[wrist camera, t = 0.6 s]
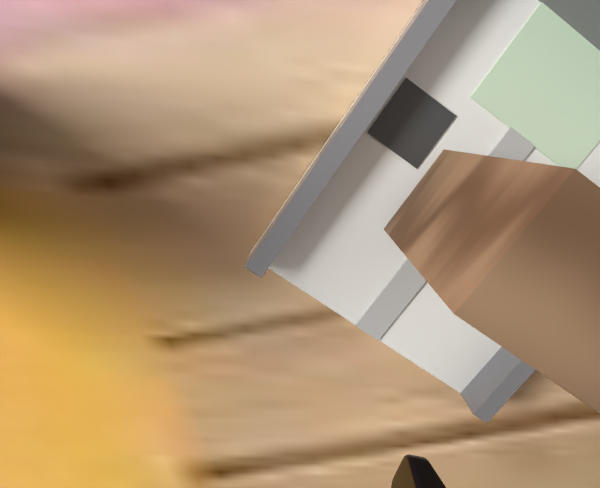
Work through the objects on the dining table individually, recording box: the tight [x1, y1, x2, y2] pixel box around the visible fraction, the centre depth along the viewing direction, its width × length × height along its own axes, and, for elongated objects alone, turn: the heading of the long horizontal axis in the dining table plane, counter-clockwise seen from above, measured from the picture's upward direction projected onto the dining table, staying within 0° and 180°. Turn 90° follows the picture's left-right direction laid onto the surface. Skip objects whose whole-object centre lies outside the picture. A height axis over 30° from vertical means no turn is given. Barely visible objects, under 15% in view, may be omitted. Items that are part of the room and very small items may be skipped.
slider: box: [384, 149, 600, 413], centre depth 18 cm, size 5×6×11 cm
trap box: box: [245, 0, 600, 423], centre depth 22 cm, size 19×16×5 cm
